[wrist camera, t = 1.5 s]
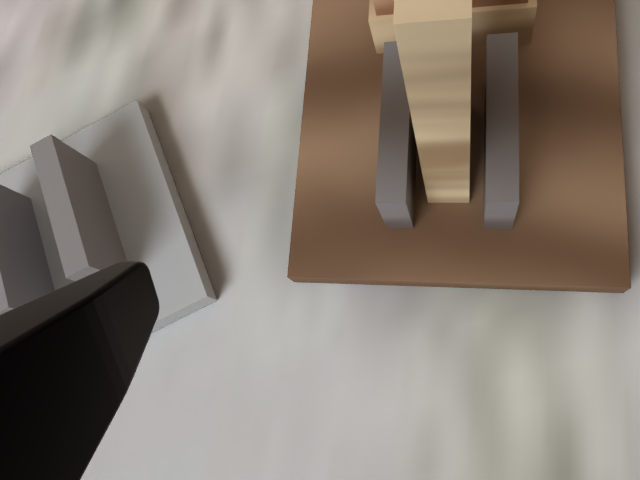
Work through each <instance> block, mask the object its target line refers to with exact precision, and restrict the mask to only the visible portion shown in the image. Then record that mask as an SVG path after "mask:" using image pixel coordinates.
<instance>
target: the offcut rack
mask: <svg viewBox="0 0 640 480" xmlns="http://www.w3.org/2000/svg"><path fill="white" fill-rule="evenodd" d="M369 2H370V0H313V7H312V18H311V29H310V39H309V50H308V61H307V72H306V82H305V93H304V104H303V115H302V125H301V136H300V147H299V158H298V168H297V179H296V190H295V201H294V211H293V222H292V233H291V244H290V255H289V265H288V276H287V277H288V278H289V279H291V280H292V281H294V282H309V283H339V284H369V285H400V286H430V287H460V288H490V289H521V290H551V291H581V292H611V293H624V292H625V291H627V290H628V289H630V288H631V282H630V264H629V247H628V229H627V212H626V194H625V177H624V159H623V141H622V124H621V106H620V89H619V71H618V54H617V36H616V18H615V1H614V0H537V11H536V16H535V22H534V27H533V33H532V38H531V43H528V44H518V32H515V33H501V34H487V41H486V46H484V47H471V117H470V189H469V203H428V200H427V195H426V190H425V185H424V180H423V175H422V169H421V164H420V159H419V154H418V149H417V144H416V139H415V134H414V129H413V124H412V119H411V114H410V108H409V103H408V98H407V93H406V88H405V83H404V78H403V73H402V68H401V63H400V58H399V53H398V47H397V42H396V41H391V42H384V53H381V54H377V53H376V49H375V45H374V41H373V37H372V33H371V30H370V26H369V22H368V18H369Z"/></svg>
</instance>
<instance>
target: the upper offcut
mask: <svg viewBox="0 0 640 480" xmlns="http://www.w3.org/2000/svg"><path fill="white" fill-rule="evenodd" d="M373 3H374V8H375V12H376V16H380V15H392V14H394V0H373ZM522 3H528V0H472V8H475V7H486V6H498V5H510V4H522Z"/></svg>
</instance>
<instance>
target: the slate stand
mask: <svg viewBox="0 0 640 480" xmlns="http://www.w3.org/2000/svg"><path fill="white" fill-rule="evenodd" d="M30 148H31V151H32V155H33V157H31V158H29V159H27V160H25V161H23V162H22V163H20V164H18V165H16V166H14V167H12V168H11V169H9V170H7V171H5V172H3V173H1V174H0V315H1V314H3V313H5V312H7V311H10V310H12V309H14V308H16V307H19V306H21V305H23V304H25V303H28V302H30V301H32V300H34V299H37V298H39V297H41V296H43V295H46V294H48V293H50V292H52V291H54V290H57V289H59V288H61V287H63V286H66V285H68V284H70V283H72V282H75V281H77V280H79V279H81V278H84V277H86V276H88V275H90V274H93V273H95V272H97V271H99V270H102V269H104V268H106V267H108V266H111V265H113V264H115V263H117V262H120V261H141V262H143V263H145V264H146V265H147V266H148V268H149V270H150V273H151V277H152V280H153V283H154V286H155V290H156V293H157V296H158V299H159V306H160V308H159V315H158V318H157V320H156V323H155V325H154V328H153V330H152V332H154V331H156V330H158V329H160V328H162V327H164V326H166V325H168V324H170V323H172V322H174V321H176V320H178V319H181V318H183V317H185V316H187V315H189V314H191V313H193V312H195V311H197V310H199V309H201V308H203V307H205V306H207V305H209V304H211V303H213V302H215V301H217V298H216V295H215V292H214V290H213V287H212V284H211V282H210V279H209V276H208V273H207V271H206V268H205V265H204V262H203V260H202V257H201V254H200V251H199V249H198V246H197V243H196V240H195V238H194V235H193V232H192V229H191V227H190V224H189V221H188V219H187V216H186V213H185V210H184V208H183V205H182V202H181V199H180V197H179V194H178V191H177V188H176V186H175V183H174V180H173V177H172V175H171V172H170V169H169V166H168V164H167V161H166V158H165V156H164V153H163V150H162V147H161V145H160V142H159V139H158V136H157V134H156V131H155V128H154V125H153V123H152V120H151V117H150V114H149V112H148V110H147V109H146V108H145V107H144V106H143V105H142V104H141V103H139V102H138V101H137V100H135V101H134V102H132V103H130V104H128V105H126V106H124V107H123V108H121V109H119V110H117V111H115V112H113V113H112V114H110V115H108V116H106V117H104V118H102V119H101V120H99V121H97V122H95V123H93V124H91V125H89V126H88V127H86V128H84V129H82V130H80V131H78V132H77V133H75V134H73V135H71V136H69V137H67V138H66V139H64V140H62V141H60V140H59V139H57V138H56V137H54V136H53V135H49V136H47V137H46V138H44V139H42V140H40V141H38V142H36V143H35V144H33V145H31V146H30Z"/></svg>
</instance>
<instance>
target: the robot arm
mask: <svg viewBox="0 0 640 480" xmlns="http://www.w3.org/2000/svg"><path fill="white" fill-rule="evenodd" d="M159 308H160V306H159V299H158V296H157V293H156V290H155V286H154V283H153V280H152V277H151V273H150V270H149V268H148V266H147V265H146V264H145V263H143V262H141V261H120V262H117V263H115V264H113V265H111V266H108V267H106V268H104V269H102V270H99V271H97V272H95V273H93V274H90V275H88V276H86V277H84V278H81V279H79V280H77V281H75V282H72V283H70V284H68V285H66V286H63V287H61V288H59V289H57V290H54V291H52V292H50V293H48V294H46V295H43V296H41V297H39V298H37V299H34V300H32V301H30V302H28V303H25V304H23V305H21V306H19V307H16V308H14V309H12V310H10V311H7V312H5V313H3V314H1V315H0V480H80V479H81V477H82V475H83V474H84V472H85V470H86V468H87V466H88V464H89V462H90V460H91V459H92V457H93V455H94V453H95V451H96V449H97V447H98V446H99V444H100V442H101V440H102V438H103V436H104V434H105V432H106V431H107V429H108V427H109V425H110V423H111V421H112V419H113V417H114V416H115V414H116V412H117V410H118V408H119V406H120V404H121V402H122V400H123V398H124V396H125V395H126V393H127V390H128V388H129V386H130V384H131V381H132V379H133V377H134V374H135V372H136V369H137V367H138V364H139V362H140V360H141V357H142V355H143V352H144V350H145V347H146V345H147V342H148V340H149V337H150V335H151V333H152V330H153V328H154V325H155V323H156V320H157V318H158V315H159Z"/></svg>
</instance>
